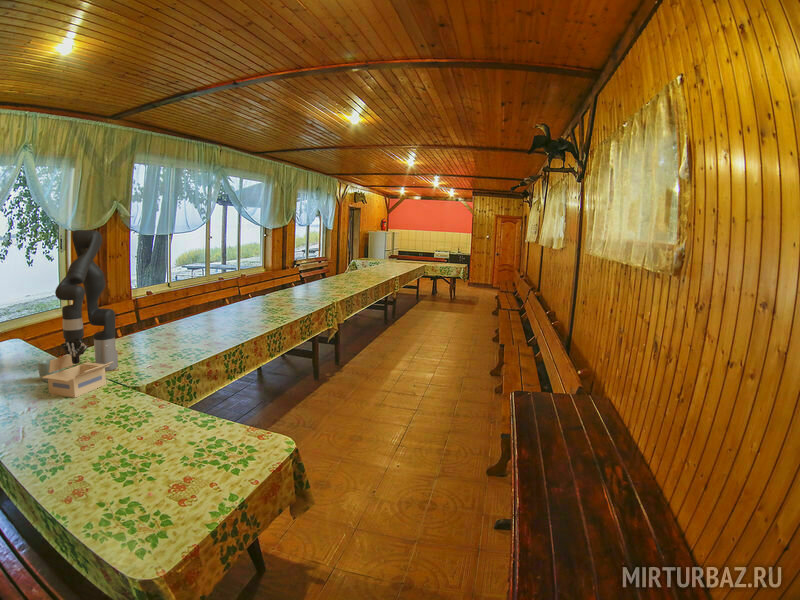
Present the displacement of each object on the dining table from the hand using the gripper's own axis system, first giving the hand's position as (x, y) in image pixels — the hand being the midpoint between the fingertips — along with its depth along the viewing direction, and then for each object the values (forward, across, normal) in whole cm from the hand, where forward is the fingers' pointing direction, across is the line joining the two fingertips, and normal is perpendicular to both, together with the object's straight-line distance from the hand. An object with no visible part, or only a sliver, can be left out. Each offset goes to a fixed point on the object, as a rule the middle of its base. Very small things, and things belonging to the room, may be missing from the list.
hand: (75, 363), depth 194 cm
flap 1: (0, +6, 0) cm, 6 cm away
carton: (+13, 0, 0) cm, 13 cm away
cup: (+13, +22, -5) cm, 26 cm away
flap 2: (+1, -10, 0) cm, 10 cm away
